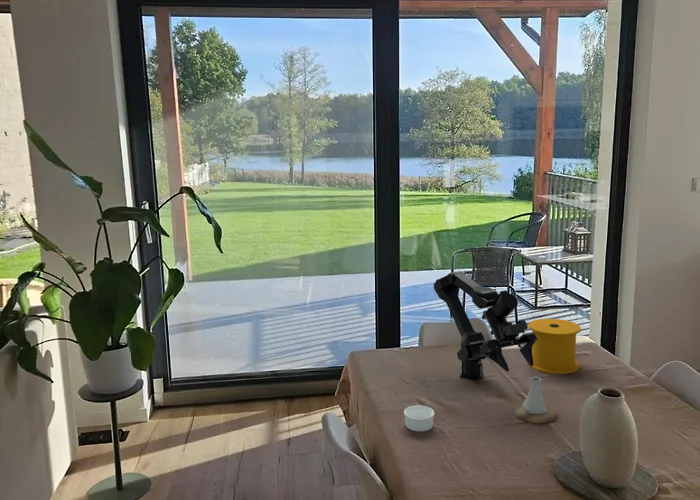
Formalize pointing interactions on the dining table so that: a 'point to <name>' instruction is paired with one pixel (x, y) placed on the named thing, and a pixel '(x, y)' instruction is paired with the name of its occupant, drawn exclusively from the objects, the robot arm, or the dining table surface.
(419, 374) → the dining table surface
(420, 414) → the ramekin
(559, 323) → the spool
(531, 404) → the flask
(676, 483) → the dining table surface
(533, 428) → the dining table surface
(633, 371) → the dining table surface
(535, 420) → the brass disc
